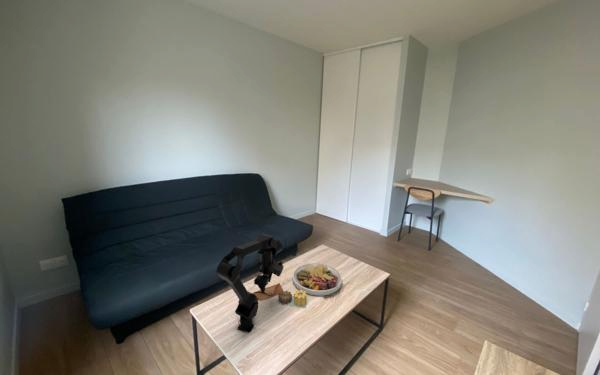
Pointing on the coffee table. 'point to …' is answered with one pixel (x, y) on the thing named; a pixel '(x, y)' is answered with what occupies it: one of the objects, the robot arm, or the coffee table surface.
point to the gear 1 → (285, 297)
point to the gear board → (293, 303)
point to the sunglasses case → (268, 292)
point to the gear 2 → (300, 298)
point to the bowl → (317, 279)
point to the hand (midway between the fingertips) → (266, 287)
